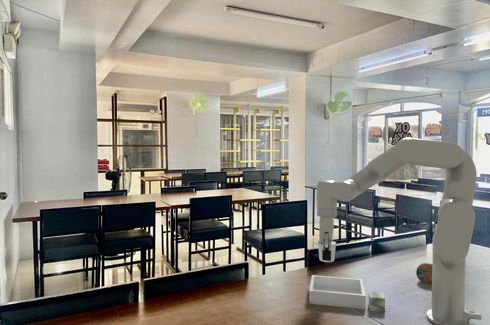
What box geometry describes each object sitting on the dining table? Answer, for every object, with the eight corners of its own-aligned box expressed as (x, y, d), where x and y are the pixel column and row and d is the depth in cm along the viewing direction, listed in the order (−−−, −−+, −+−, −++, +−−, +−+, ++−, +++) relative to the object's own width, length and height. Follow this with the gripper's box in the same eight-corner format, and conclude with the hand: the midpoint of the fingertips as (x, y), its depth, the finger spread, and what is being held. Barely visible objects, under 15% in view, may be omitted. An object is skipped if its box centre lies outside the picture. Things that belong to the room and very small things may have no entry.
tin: (416, 282, 149) (416, 262, 149) (416, 279, 152) (416, 260, 151) (456, 288, 142) (457, 268, 142) (456, 285, 145) (456, 266, 144)
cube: (383, 306, 127) (383, 292, 127) (384, 312, 123) (385, 298, 122) (368, 304, 129) (368, 291, 128) (370, 310, 124) (370, 297, 124)
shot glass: (336, 263, 131) (336, 245, 131) (317, 262, 133) (317, 244, 132) (335, 257, 138) (335, 240, 138) (317, 256, 139) (317, 239, 139)
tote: (361, 291, 140) (362, 279, 140) (365, 309, 125) (365, 295, 124) (311, 286, 145) (311, 275, 145) (309, 303, 130) (309, 290, 129)
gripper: (318, 207, 144) (318, 250, 144) (315, 215, 127) (315, 264, 128) (336, 208, 142) (336, 251, 143) (337, 216, 125) (336, 265, 126)
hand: (326, 257), depth 135 cm, fingers closed on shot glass, 6 cm apart
